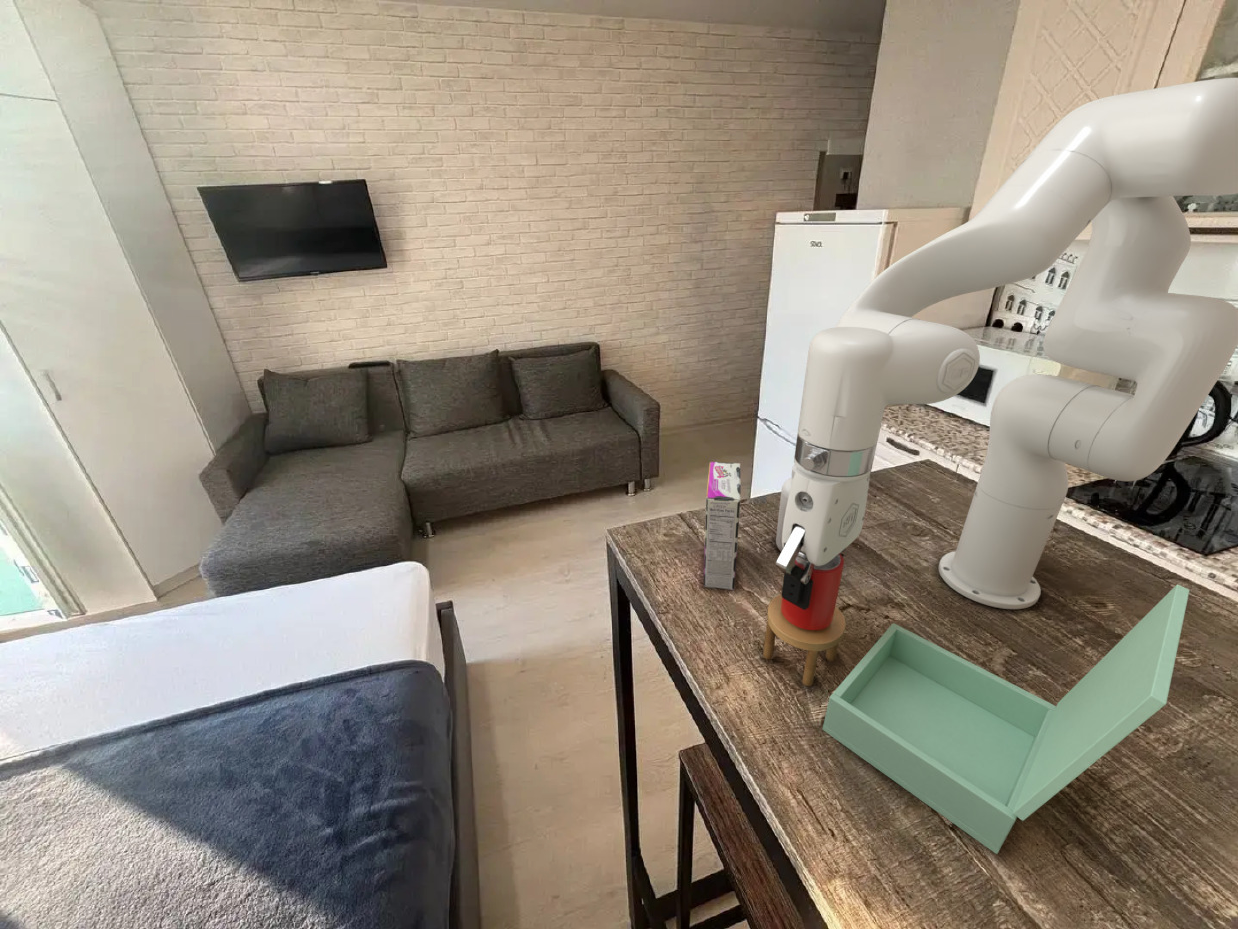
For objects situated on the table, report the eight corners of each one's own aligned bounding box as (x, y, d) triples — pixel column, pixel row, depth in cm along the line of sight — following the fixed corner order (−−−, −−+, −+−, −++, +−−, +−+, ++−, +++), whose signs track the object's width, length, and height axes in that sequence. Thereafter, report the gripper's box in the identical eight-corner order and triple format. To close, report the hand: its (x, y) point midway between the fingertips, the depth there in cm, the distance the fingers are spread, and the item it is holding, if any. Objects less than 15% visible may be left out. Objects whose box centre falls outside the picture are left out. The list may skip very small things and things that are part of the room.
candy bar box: (705, 545, 87) (708, 460, 80) (734, 548, 86) (741, 462, 79) (701, 588, 78) (705, 496, 70) (734, 592, 77) (742, 498, 69)
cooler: (822, 729, 56) (829, 697, 54) (884, 653, 65) (893, 622, 63) (996, 855, 45) (1015, 820, 43) (1043, 742, 54) (1060, 708, 52)
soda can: (797, 589, 66) (806, 533, 62) (842, 612, 62) (854, 555, 58) (771, 611, 62) (778, 554, 58) (816, 638, 58) (827, 579, 54)
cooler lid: (1150, 695, 33) (1166, 704, 32) (1177, 583, 42) (1190, 589, 41) (1012, 813, 43) (1022, 821, 42) (1057, 702, 52) (1067, 708, 51)
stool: (787, 620, 71) (793, 581, 68) (849, 657, 65) (859, 616, 62) (748, 655, 66) (753, 614, 63) (812, 699, 60) (821, 656, 57)
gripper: (825, 495, 45) (799, 645, 53) (907, 438, 55) (875, 571, 63) (753, 468, 50) (740, 608, 58) (840, 420, 60) (818, 545, 68)
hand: (810, 587), depth 60 cm, fingers closed on soda can, 6 cm apart
